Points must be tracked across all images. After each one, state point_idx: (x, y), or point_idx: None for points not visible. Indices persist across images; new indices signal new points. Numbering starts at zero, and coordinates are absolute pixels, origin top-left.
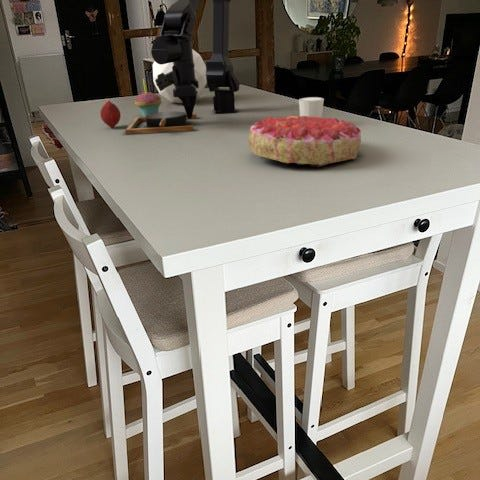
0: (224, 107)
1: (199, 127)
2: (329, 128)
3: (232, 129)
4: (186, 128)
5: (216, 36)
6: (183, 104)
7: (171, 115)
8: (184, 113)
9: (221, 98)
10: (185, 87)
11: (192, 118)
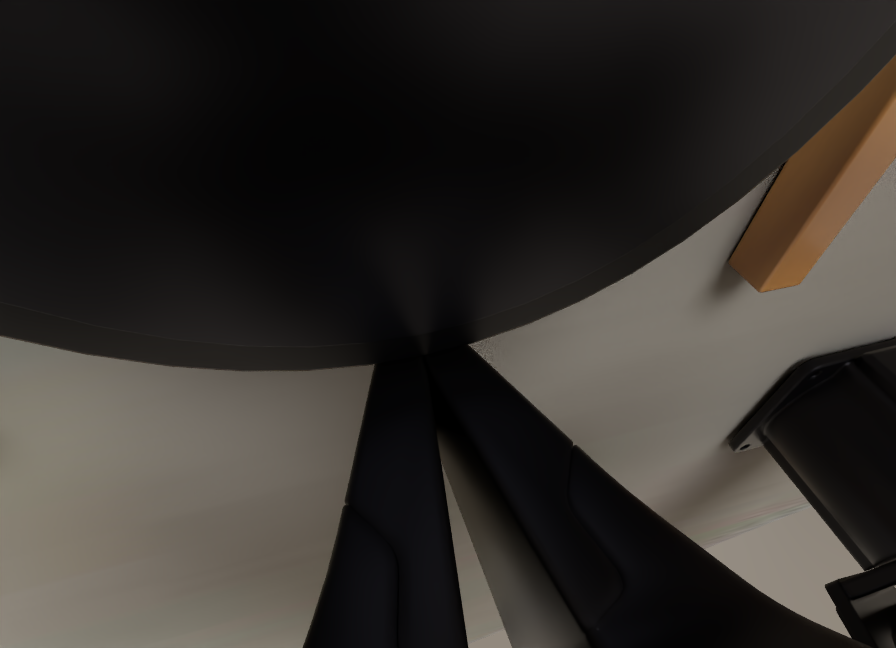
0: (798, 435)
1: (158, 415)
2: None
3: (112, 596)
4: None
5: None
6: (320, 611)
7: (92, 38)
8: (469, 324)
9: (873, 491)
10: None
11: (754, 220)
